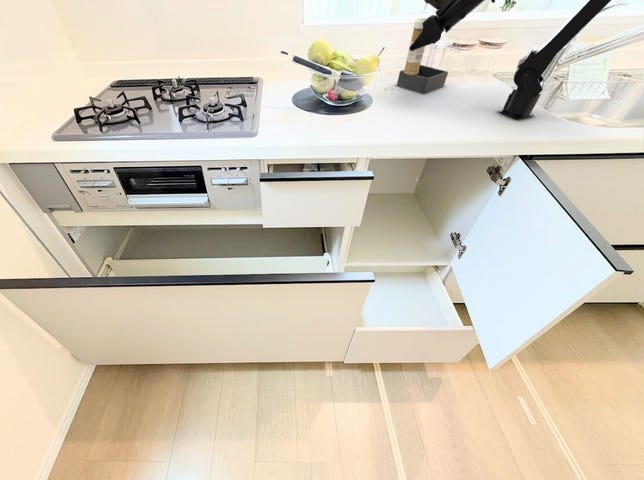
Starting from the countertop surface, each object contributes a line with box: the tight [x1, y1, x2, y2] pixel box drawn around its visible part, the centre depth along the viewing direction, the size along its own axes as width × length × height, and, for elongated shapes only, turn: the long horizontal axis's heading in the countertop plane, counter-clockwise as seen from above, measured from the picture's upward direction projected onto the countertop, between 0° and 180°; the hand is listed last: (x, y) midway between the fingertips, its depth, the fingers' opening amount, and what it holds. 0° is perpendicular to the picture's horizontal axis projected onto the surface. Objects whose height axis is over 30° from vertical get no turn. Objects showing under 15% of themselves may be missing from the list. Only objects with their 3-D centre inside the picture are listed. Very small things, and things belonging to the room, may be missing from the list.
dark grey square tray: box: [396, 64, 449, 95], centre depth 111 cm, size 11×11×4 cm
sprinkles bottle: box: [403, 17, 428, 75], centre depth 97 cm, size 5×5×14 cm
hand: (412, 47), depth 98 cm, fingers closed on sprinkles bottle, 4 cm apart
